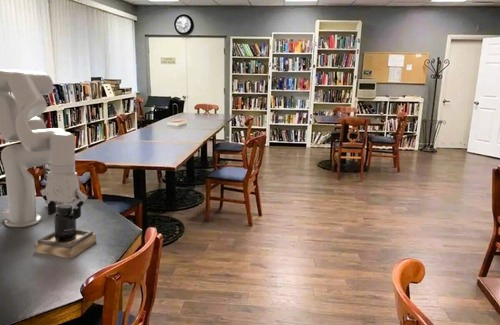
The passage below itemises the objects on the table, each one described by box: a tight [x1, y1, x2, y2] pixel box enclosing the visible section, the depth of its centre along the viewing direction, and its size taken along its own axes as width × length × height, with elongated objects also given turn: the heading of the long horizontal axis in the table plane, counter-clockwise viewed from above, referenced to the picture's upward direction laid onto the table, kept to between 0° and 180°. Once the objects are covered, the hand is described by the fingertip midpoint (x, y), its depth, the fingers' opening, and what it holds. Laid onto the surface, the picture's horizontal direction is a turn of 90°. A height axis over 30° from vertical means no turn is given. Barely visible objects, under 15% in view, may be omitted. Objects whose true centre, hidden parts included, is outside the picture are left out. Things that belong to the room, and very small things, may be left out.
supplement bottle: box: [54, 203, 77, 242], centre depth 132 cm, size 7×7×12 cm
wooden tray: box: [33, 228, 97, 259], centre depth 134 cm, size 14×14×4 cm
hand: (64, 216), depth 132 cm, fingers open, 9 cm apart
